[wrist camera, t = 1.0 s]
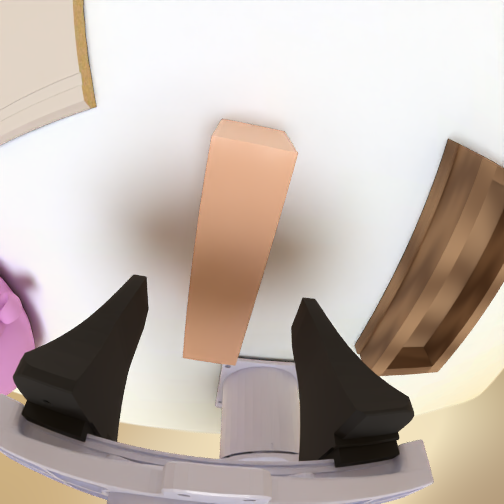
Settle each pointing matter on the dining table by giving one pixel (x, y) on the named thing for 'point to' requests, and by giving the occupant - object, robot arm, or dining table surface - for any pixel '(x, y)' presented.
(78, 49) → the baseboard
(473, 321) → the tray
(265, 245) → the clay block
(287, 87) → the dining table surface
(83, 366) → the robot arm
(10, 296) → the teapot
